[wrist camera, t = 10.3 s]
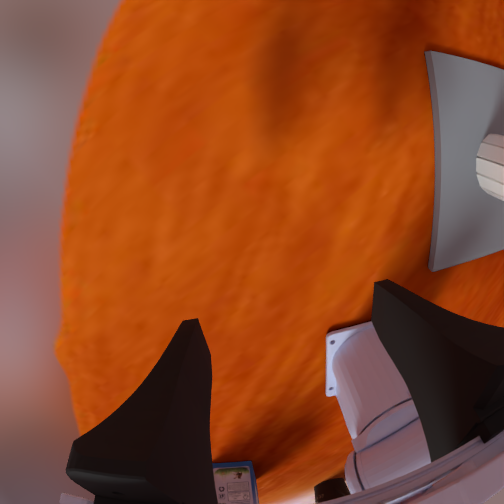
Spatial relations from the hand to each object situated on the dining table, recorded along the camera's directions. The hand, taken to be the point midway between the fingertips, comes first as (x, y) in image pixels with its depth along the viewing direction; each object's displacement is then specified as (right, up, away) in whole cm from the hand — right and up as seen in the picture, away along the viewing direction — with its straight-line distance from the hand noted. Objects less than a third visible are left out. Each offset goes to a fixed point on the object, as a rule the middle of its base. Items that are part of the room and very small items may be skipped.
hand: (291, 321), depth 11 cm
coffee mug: (+15, -44, +33) cm, 57 cm away
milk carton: (-4, -32, +26) cm, 41 cm away
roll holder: (+19, +11, +7) cm, 23 cm away
